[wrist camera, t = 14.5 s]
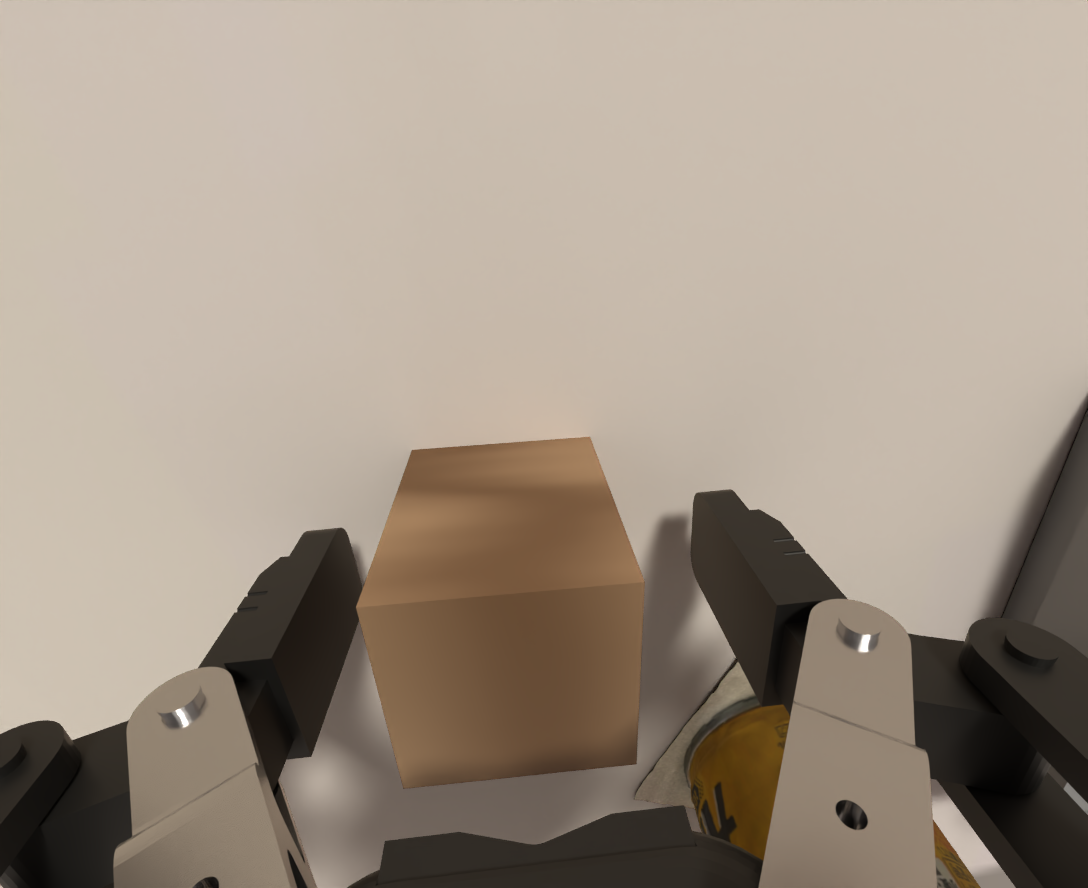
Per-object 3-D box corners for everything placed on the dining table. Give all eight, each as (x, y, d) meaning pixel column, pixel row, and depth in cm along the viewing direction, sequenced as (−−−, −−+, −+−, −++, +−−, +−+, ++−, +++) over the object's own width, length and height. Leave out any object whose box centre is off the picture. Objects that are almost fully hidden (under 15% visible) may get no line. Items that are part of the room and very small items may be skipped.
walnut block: (436, 589, 13) (403, 788, 9) (412, 449, 12) (356, 607, 7) (591, 575, 14) (636, 764, 9) (589, 436, 12) (644, 582, 7)
